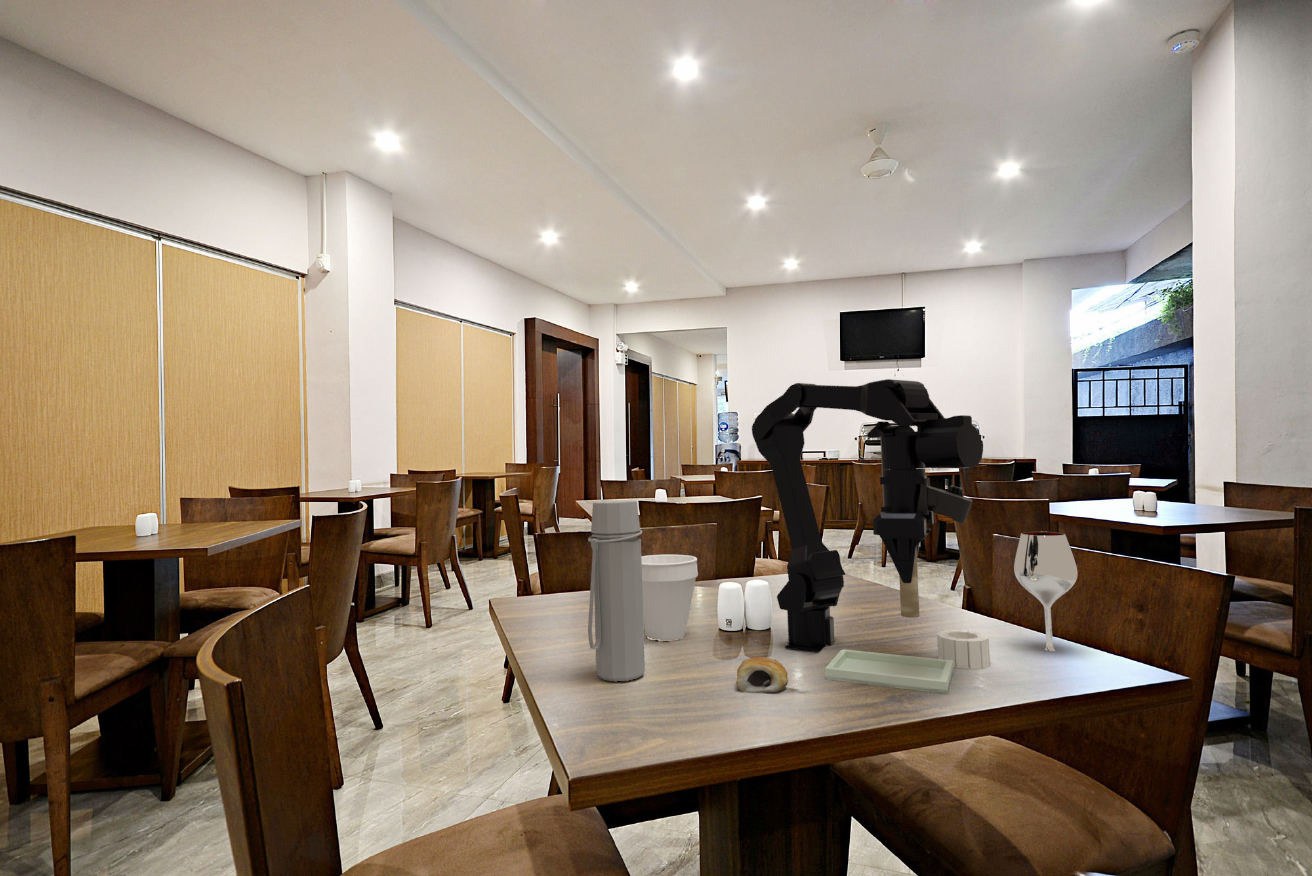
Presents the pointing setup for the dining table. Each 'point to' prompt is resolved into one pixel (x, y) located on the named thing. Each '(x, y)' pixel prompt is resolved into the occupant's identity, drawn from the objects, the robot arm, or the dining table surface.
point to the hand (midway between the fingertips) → (908, 581)
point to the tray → (891, 671)
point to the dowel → (910, 595)
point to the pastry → (761, 675)
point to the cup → (667, 594)
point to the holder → (964, 648)
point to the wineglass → (1045, 570)
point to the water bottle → (617, 591)
